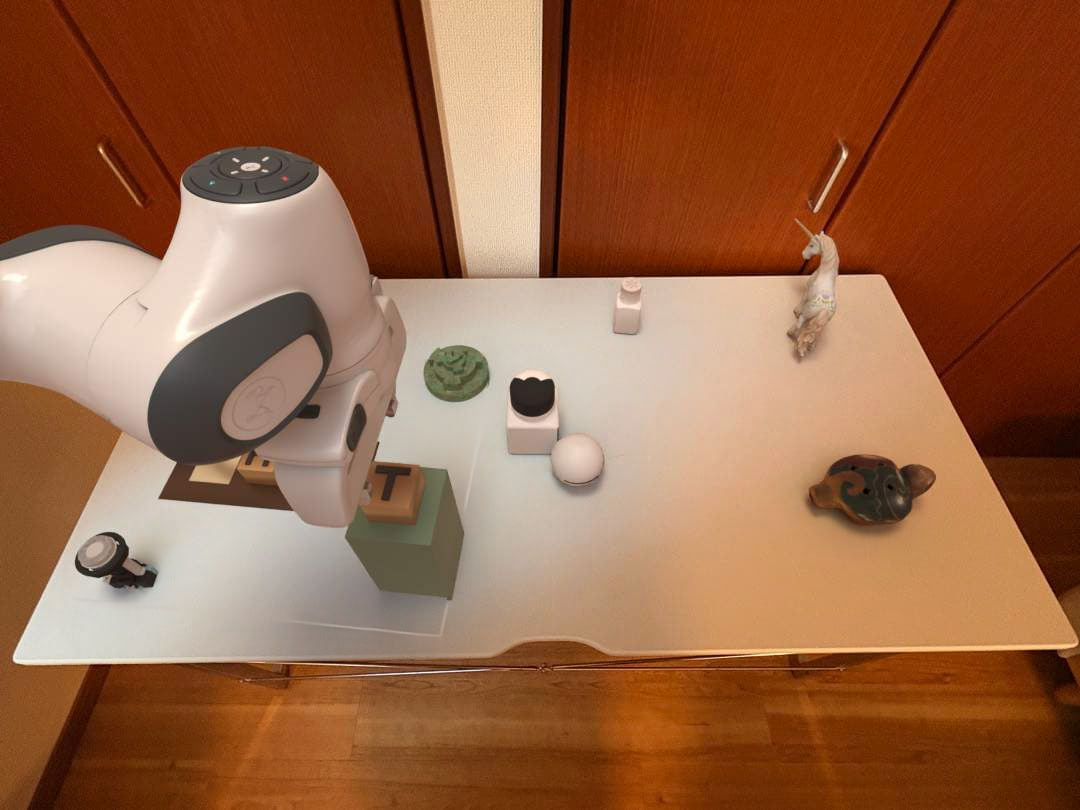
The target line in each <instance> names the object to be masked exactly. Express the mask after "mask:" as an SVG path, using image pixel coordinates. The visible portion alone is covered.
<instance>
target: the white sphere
mask: <svg viewBox="0 0 1080 810" xmlns="http://www.w3.org/2000/svg"><path fill="white" fill-rule="evenodd" d="M622 456H623V454H621V455H620V457H622ZM617 457H619V455H617V456H616V458H617ZM614 458H615V456H613V457H612V459H614ZM610 459H611V458H608V460H610ZM549 460H550V466H551V470H552V472H553V474H554V475H555V477H556V478H557V479H558V480H559V481H561V483H563V484H566V485H568V486H570V487H584V486H587V485H589V484H591V483H594V481H596V480H597V479H598V478H599V476H600V474H601V472H602V471H603V469H604V466H605V455H604V452H603V448H602V446H601V445H600V444H599V442H598V441H597V440H595V438H593V437H592V436H591V435H588V434H586V433H583V432H572V433H569V434H566V435H564V436H562V437H561V438H560V439H558V442H556V444H555V446H554V447H553V450H552V453H551V454H550V459H549Z"/></svg>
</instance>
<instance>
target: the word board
mask: <svg viewBox="0 0 1080 810" xmlns="http://www.w3.org/2000/svg"><path fill="white" fill-rule="evenodd" d="M380 443H381V441H379V440H378V441H377V445H376V448H375V451H374V455H373V458H372V461H376V456H377V453H378V449H379V446H380ZM242 456H243V455H242ZM242 456H239V457H237V458H234V459H231V460H228V461H224V462H221V463H216V464H210V465H201V466H192V465H185V464H181V463H178V462H175V465H174V467H173V469H172V470H171V473H169V474H170V475H169V476H168V478H167V481H166V483H165V484H164V486H163V487H162V490H161V492H160V494H159V496H158V498H157V500H164V501H174V502H175V501H177V502H186V503H198V504H207V505H208V504H209V505H218V506H219V505H220V506H230V507H241V508H253V509H263V510H264V509H265V510H275V511H286V512H287V511H288V512H295V511H294V510H293V509H292V507H291V506H290V504H289V503H288V501H287V500H286V498H285V497H284V495H283V493H282V492H281V490H280V488H279V486H275V485H264V484H252V483H248V482H247V481H246V480H245V478H244V477H243V476H242V475H241V473H240V472H239V471H238V470H237V467H238V465H239V463H240V460H241V458H242ZM372 461H371V463H372Z"/></svg>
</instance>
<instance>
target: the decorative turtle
mask: <svg viewBox="0 0 1080 810" xmlns="http://www.w3.org/2000/svg"><path fill="white" fill-rule="evenodd" d="M936 480H937V473H935V471H934V470H932V469H931V468H930V467H927V466H925V465H923V464H919V463H909V464H907V465H904V466H902V467H900V468H899V466H897V465H896V464H895V462H894V461H893V460H891V459H890V458H887V457H886V456H885V457H884V456H882V455H877V454H867V453H865V454H864V453H861V454H852V455H848V456H844V457H841V458H840V459H838V460H836V461H834V462H833V463H831V465H830V466H829V468H828V469H827V470H826V473H825V475H824V478H823V480H822V481H820V482H818V483H815V484H814V485H810V486H809V488H808V493H809V495H808V496H809V500H810V502H811V504H812V505H813V507H814V508H817V509H832V508H833V509H840V510H842V511H843V512H844V513H845V514H846V515H848V518H849V521H850V522H851V523H852V524H854V525H858V526H877V525H878V526H879V525H890V524H895V523H899V522H901V521H903V520H905V519H906V518H907V517H908V516H909V515H910V513H911V511H912V510H913V500H914V499H916V498H918V497H920V496H922V495H923V494H925V493H926V492H928V491H929V490H930V489H931V488H932V487H933V485H934V484H935V483H936Z"/></svg>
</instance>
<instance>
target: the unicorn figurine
mask: <svg viewBox="0 0 1080 810" xmlns="http://www.w3.org/2000/svg"><path fill="white" fill-rule="evenodd" d="M794 221H795V223H796V224H797V226H798V227H799V228H800V229H801V230H802V231H803V233H805V235H806V236H807V238H808V239H809V240H810V241H809V242H808V245H806V246H805V247H804V250H803V251H802V252H801V254H802V258H803V259H804V260H810V259H811V257H813V256H816V255H817V256H818V255H820V262H819V266H818V268H817V269H816V270H815V271H814V272H813V273H811V275H810V276H809V278H808V279H807V281H806V289H805V292H804V293H805V294H804V295H803V296H802V299H801V302H800V304H799V305H798V306H797V307H795V308H794V309H793V313H794V314H796V318H798V321H797V322H796V323H794V324H792V326H791V327H790V328H789V329H788V331H787V333H786V335H790V336H792V337H795V336H796V333H797V332H798V331H799V330H801V329H802V328H803V327H804V324H805V322H807V321H808V320H810V321H809V322H808V325H807V326H806V327H805V328H803V329H802V330H801V332H800V334H799V335H798V337H797V339H796V342H795V343H794V345H793V349H794V351H795V350H797V352H798V355H799V356H800V357H802V358H803V357H804V356H805V354H804V353H805V352H806V351H807V350H809V351H813V350H814V349H815V348H816V346H815V345H816V344H817V343H816V342H817V340H818V339H819V337H820V336H821V334H822V333H823V331H824V330H825V328H826V326H827V323H829V322H830V321H831V320H832V318H833V317H834V316H835V314H836V309H837V301H836V299H835V297H836V290H835V289H836V288H835V287H836V279H837V278H838V277H839V266H840V257H839V253H838V249H837V245H836V244H835V241H834V239H833V238H832V237H830V236H828V235H827V234H825V233H824V230H821V231H820V233H819V234H813V233H812V232H811V231H810V230H808V228H806V226H804V224H802V222H801V221H799V220H798V219H797V218H794Z"/></svg>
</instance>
